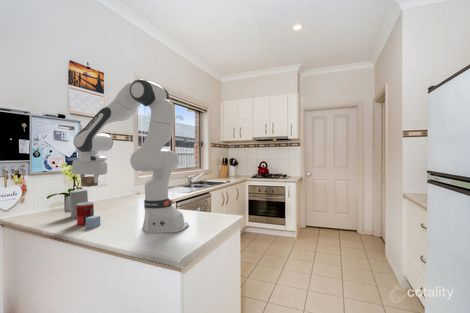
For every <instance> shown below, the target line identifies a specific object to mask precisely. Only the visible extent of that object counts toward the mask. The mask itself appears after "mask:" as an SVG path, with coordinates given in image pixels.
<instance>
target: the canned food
mask: <svg viewBox="0 0 470 313" xmlns="http://www.w3.org/2000/svg"><path fill="white" fill-rule="evenodd" d="M94 208H95V206H94V202H93V201H88V202H82V203H78V204H77V205H76V211H77V217H76V224H77V226H86V218H88V217H91V216H95V215H94V214H95V213H94Z"/></svg>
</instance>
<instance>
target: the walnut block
mask: <svg viewBox="0 0 470 313" xmlns="http://www.w3.org/2000/svg"><path fill="white" fill-rule="evenodd" d="M92 180H94V175H91V176H89V175H88V176H84V177H81V178H80V186H81V187H85V188H86V187H89V188H91V187H95V186H97V187H98V185H99V182H98V181H99V178H98V179H97V183H92Z"/></svg>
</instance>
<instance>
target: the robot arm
mask: <svg viewBox="0 0 470 313" xmlns="http://www.w3.org/2000/svg"><path fill="white" fill-rule="evenodd" d="M140 105H143V106H145V107H149V108H150V109H149V110H150V118H149V125H148V130H147V134H146V138H145V140H144V141H143V143H142V145H140V147H138V149H136V150H135V151H133V152H132V154H131V156H130V158H129V159H130V160H129V161H130V166H131V168H132V169H133V171H136V172H139V173H140V172H141V173H149V172H150V173H152V176H151V177H150V178H149V179H148V180H147V181H146V182H145V184H144V200H143V202H144V203H143V206H144V217H143V224H142V227H141V228H142V231H144V233H145V234H156V233H157V234H160V233H161V234H162V233H164V234H167V233H173V234H174V233H179V232H181V231H184V230H186V229H187V228H188V227H189V222H188V221H185V218H184V215H183V213H182V212H181V211H180V210H178V209H177V208H176V207H175V206H174V205H173V204H172V203H173V202H174V199H170V198H169V183H170V177H171V175H172V173H173V171H174V170H175V168H176V167H178V164H179V159H180V158H179V155H178V153H177V152H175V151H173V150H170V149H163V148H164V146H165V145H166V144H167V143H168V142H170V141H171V139H172V135H173V129H174V122H175V105H174V103H173V102H172V101H170V93H169V91H168V90H167V89H166V88H165V87H163V86H160V85H158V84H157V83H155V82H153V81H149V80H145V79H136V80H134V81H132V82H128V83H126V84H125V85H124V86H123V87H122V88H121V89H120V91H119V92H118V93H117V95H116V96H115V98H114V99H113V100H112V101H111V102H110V103H109V104H108V105H106V106H105V107H103V108H101V109H100V110H99V111H97V113H96V114H95V115H94V116H93V117H92V119H91V120H90V121H89V122H88V123H87V124H86V125H85V126H84V127H83V128H81V129H80V131H79V132H78V133H76V135H75V136H74V138H73V145H74V147H75V149H77V150H78V152H79V153H78V154H79V156H78V157H75V158H74V159H73V160H72V164H71V174H72V175H79V178H80V179H81V177H86V175H88V176H89V175H91V176H94V180H92V183H97V179H98V180H99V177H100V176H101V175H107V174H108V163H107V160H108V159H107V156H105V155H101V154H99V152H108V151H110V150H111V149H112V148H113V145H114V140H113V138H112V136H111V135H109V134H108V133H104V132H101V130H102V129H103V128H104V127H105V126H106V125H109V124H112V123H115V122H123V121H127V120H129V119H130V118H132V117H133V116H134V115H135V113H136V112H137V109H138V108H139V107H140ZM187 226H188V227H187ZM186 227H187V228H186Z"/></svg>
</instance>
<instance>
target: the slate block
mask: <svg viewBox="0 0 470 313" xmlns="http://www.w3.org/2000/svg"><path fill="white" fill-rule="evenodd" d="M100 226H101V215H94V216H91V217H88V218H86V225H85V228H87V229H95V228H97V227H100Z"/></svg>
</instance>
